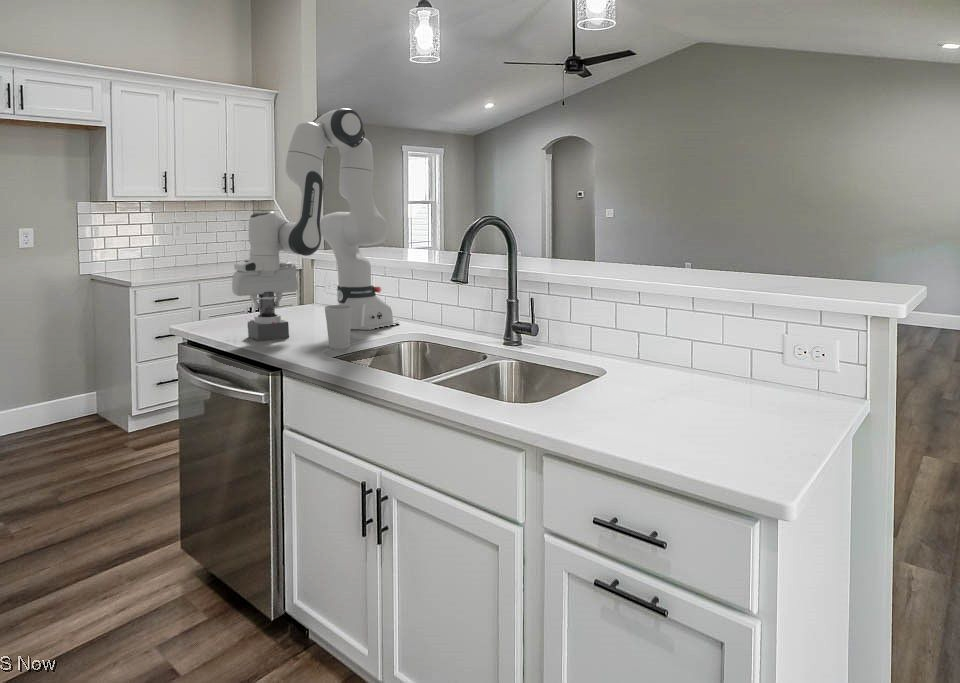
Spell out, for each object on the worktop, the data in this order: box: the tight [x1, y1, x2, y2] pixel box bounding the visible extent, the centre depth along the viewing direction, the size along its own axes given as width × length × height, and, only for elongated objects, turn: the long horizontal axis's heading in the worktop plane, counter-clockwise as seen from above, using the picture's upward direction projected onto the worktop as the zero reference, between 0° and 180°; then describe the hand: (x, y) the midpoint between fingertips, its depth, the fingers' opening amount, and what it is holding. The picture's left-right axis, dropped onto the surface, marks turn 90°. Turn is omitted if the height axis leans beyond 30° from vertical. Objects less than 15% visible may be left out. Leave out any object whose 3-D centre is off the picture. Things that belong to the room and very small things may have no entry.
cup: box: [324, 304, 352, 350], centre depth 207 cm, size 8×8×12 cm
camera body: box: [247, 313, 290, 342], centre depth 220 cm, size 10×9×7 cm
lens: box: [257, 292, 276, 317], centre depth 219 cm, size 5×5×9 cm
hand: (266, 308), depth 219 cm, fingers closed on lens, 5 cm apart
